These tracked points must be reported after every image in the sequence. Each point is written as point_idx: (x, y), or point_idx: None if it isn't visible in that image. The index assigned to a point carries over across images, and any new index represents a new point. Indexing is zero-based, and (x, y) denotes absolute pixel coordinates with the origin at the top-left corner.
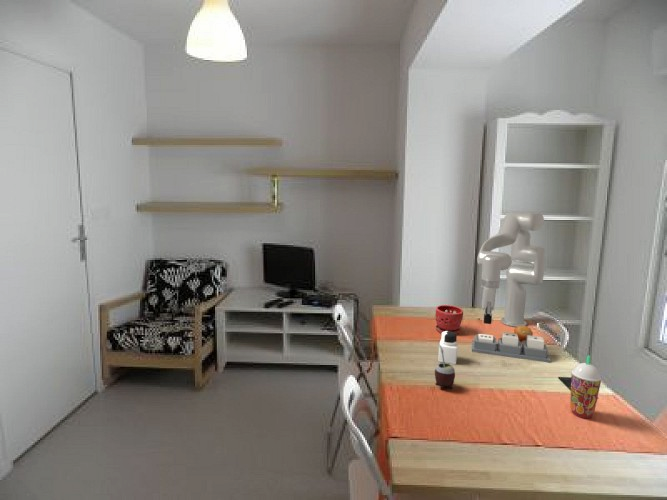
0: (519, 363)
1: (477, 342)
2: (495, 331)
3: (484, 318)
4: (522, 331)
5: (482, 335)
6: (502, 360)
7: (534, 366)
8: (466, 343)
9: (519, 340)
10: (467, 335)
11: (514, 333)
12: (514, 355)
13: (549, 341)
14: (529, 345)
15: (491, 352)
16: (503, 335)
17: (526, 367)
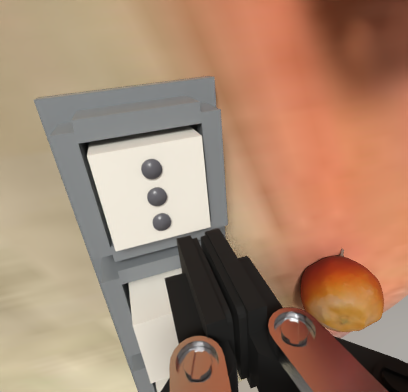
0: (50, 330)
1: (53, 146)
2: (396, 166)
3: (189, 282)
4: (332, 311)
5: (173, 170)
6: (29, 272)
7: (60, 371)
8: (177, 39)
9: (304, 273)
10: (319, 28)
11: (334, 270)
12: (108, 308)
13: (331, 331)
14: (156, 385)
15: (76, 217)
16: (159, 318)
17: (22, 359)
